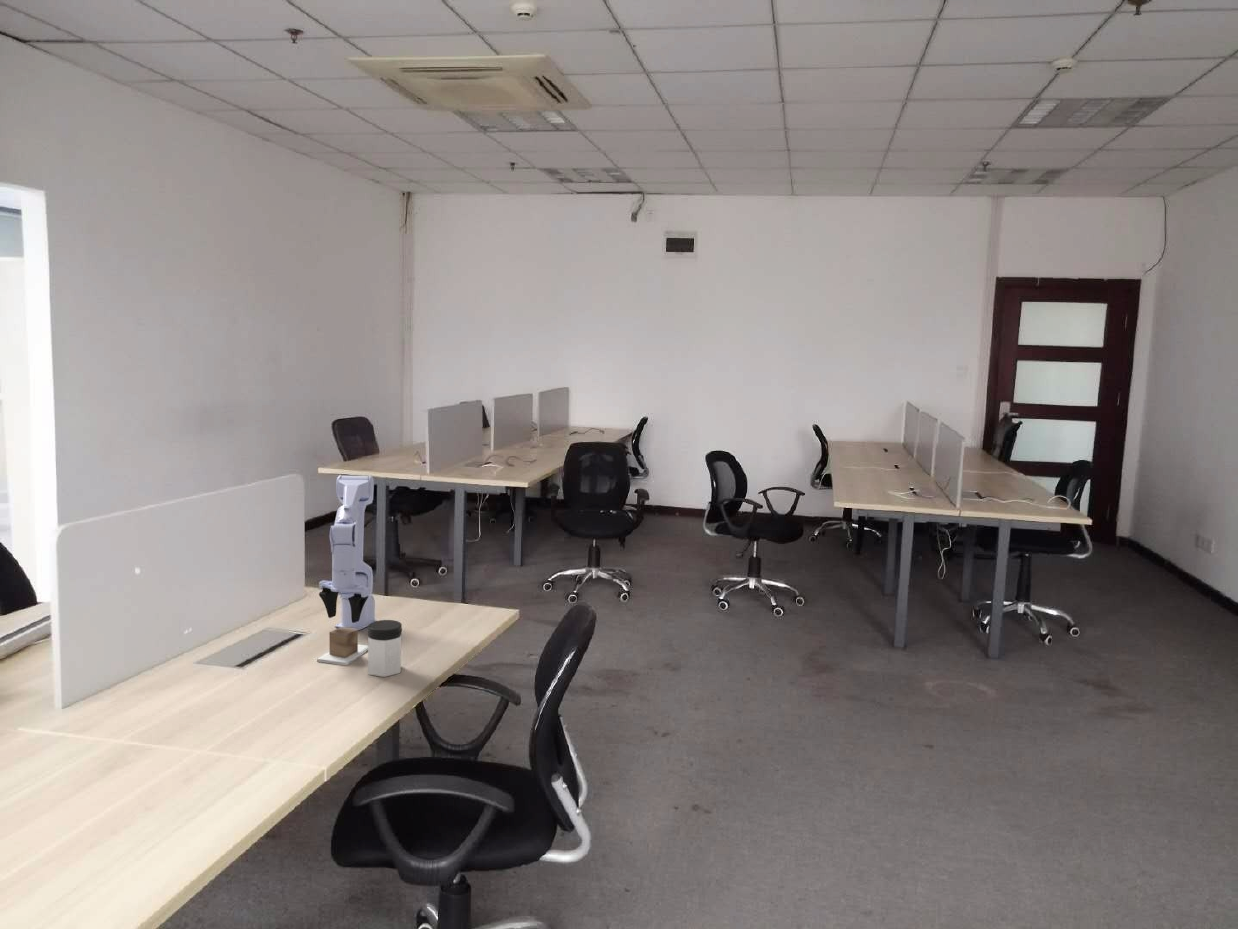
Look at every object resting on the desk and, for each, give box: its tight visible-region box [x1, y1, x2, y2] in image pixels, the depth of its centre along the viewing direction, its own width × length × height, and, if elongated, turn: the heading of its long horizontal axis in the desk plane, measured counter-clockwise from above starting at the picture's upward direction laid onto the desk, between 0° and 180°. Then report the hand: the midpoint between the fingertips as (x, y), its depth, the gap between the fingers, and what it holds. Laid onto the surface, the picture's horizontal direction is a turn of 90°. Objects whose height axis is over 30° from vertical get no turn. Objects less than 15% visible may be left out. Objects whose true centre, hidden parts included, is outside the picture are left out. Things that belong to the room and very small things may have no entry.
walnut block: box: [329, 627, 359, 657], centre depth 218 cm, size 5×5×6 cm
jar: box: [367, 619, 403, 678], centre depth 210 cm, size 9×8×12 cm
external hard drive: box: [316, 643, 368, 667], centre depth 220 cm, size 2×8×12 cm
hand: (343, 619), depth 218 cm, fingers open, 7 cm apart
